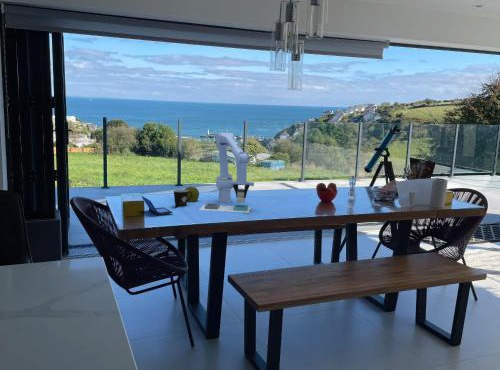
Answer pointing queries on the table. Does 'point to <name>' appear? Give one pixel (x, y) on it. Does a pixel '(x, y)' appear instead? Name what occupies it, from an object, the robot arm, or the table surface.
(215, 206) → the panel
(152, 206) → the handheld game console
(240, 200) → the plug
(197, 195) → the apple
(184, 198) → the coffee mug
